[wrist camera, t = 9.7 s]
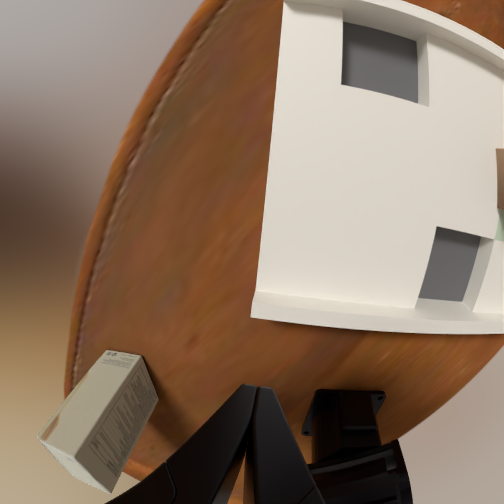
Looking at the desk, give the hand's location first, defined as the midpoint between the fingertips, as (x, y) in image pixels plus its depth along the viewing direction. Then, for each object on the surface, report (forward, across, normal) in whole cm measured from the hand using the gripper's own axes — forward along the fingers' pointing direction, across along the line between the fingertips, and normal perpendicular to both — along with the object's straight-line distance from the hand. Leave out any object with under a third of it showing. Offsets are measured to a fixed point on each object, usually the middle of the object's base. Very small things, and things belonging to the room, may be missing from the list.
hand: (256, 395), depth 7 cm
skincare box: (+12, +12, +14) cm, 22 cm away
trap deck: (+12, -10, -8) cm, 17 cm away
